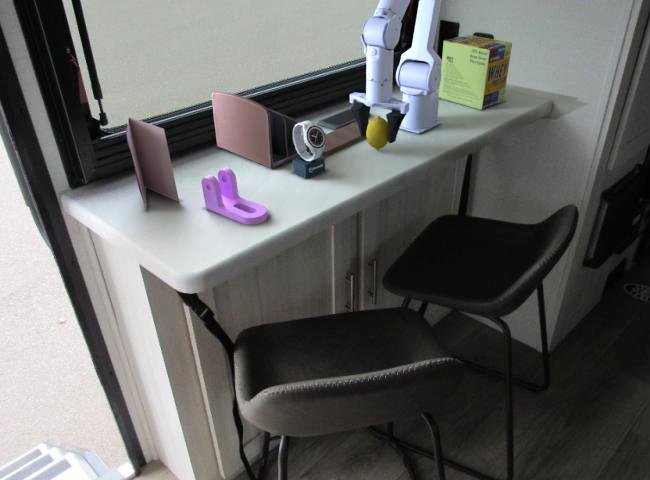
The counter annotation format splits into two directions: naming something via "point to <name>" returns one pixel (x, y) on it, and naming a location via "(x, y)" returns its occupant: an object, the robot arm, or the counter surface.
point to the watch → (316, 142)
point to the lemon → (377, 133)
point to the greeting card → (151, 158)
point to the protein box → (474, 71)
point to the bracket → (230, 199)
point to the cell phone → (339, 120)
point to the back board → (341, 138)
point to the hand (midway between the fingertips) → (378, 138)
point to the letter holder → (253, 130)
